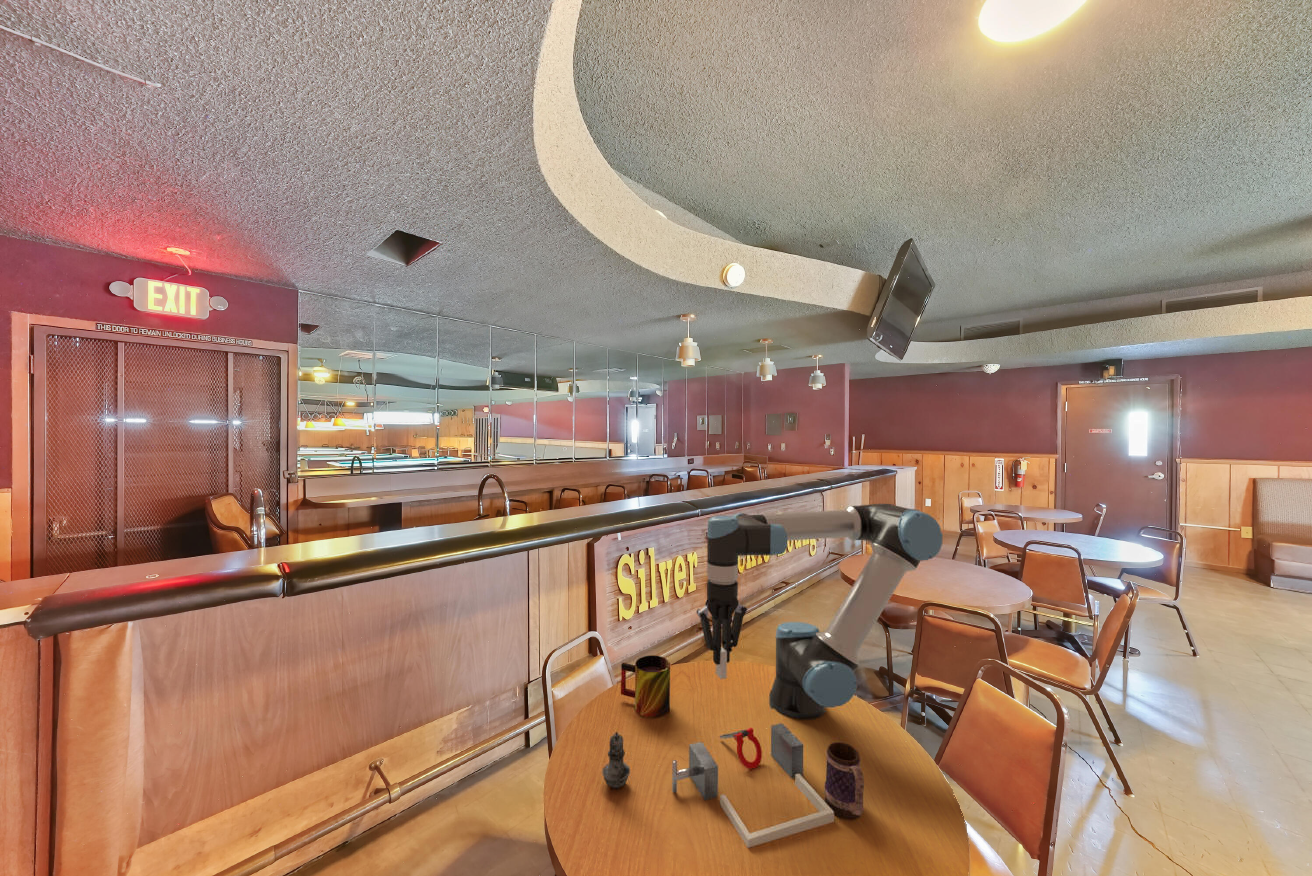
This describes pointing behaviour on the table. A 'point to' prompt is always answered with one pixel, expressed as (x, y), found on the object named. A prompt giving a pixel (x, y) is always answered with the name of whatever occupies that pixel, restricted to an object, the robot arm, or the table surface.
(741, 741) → the tow hook
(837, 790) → the mug
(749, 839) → the corral
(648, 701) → the mug
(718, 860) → the table surface
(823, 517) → the robot arm
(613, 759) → the chess piece
